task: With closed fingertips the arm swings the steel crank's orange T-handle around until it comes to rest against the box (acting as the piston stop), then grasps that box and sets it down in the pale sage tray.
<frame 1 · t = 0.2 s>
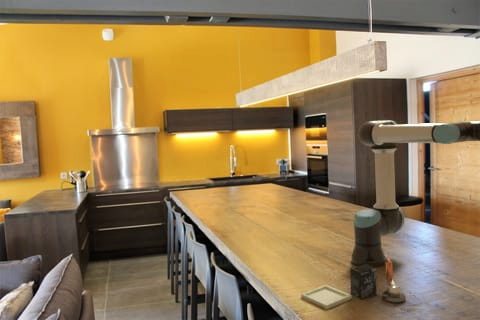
box: (363, 295, 150), on the table
crank: (391, 277, 150), point 6 cm above the table, hinge at 0.0°
tray: (326, 298, 149), on the table
crank base: (393, 298, 146), on the table
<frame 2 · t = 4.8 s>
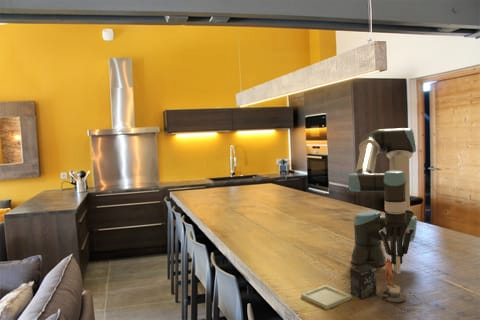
hand: (397, 272, 154), 6 cm above the table, fingers closed
crank: (391, 277, 150), point 6 cm above the table, hinge at 0.3°, touching gripper
everything else where it was.
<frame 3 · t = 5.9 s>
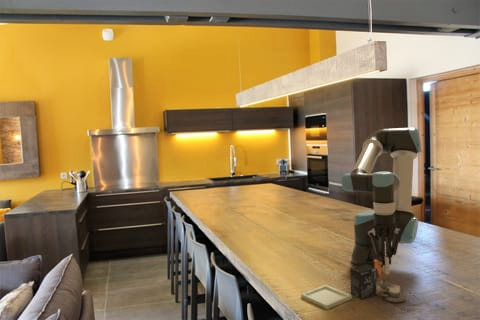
hand: (386, 272, 155), 6 cm above the table, fingers closed
crank: (385, 277, 150), point 6 cm above the table, hinge at 27.6°, touching gripper
everything else where it was.
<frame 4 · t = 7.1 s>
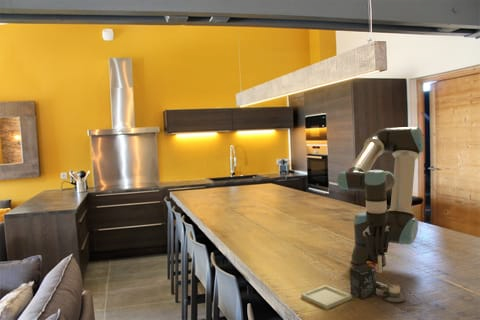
hand: (378, 271, 154), 7 cm above the table, fingers closed
box: (363, 295, 150), on the table, touching crank
crank: (382, 278, 149), point 6 cm above the table, hinge at 47.5°, touching box
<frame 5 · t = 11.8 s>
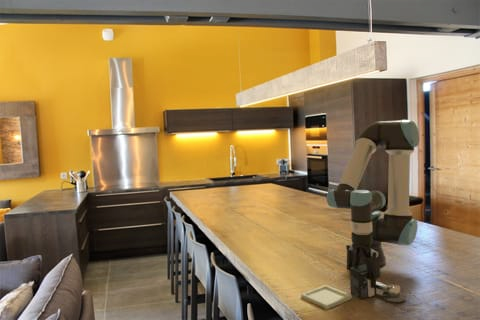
hand: (363, 292, 150), 1 cm above the table, fingers closed on box, 6 cm apart
box: (363, 295, 150), on the table, touching crank, gripper
everything else where it was.
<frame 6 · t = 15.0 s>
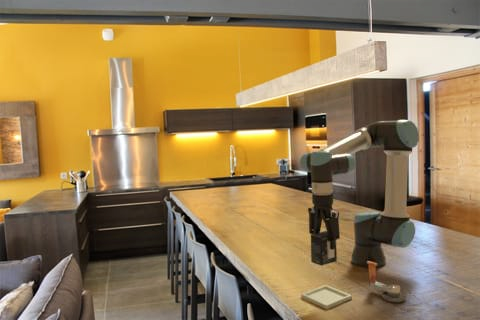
hand: (324, 255, 148), 16 cm above the table, fingers closed on box, 6 cm apart
box: (324, 262, 148), point 14 cm above the table, touching gripper
crank: (382, 278, 149), point 6 cm above the table, hinge at 46.8°
when the fingers open (3 cm above the table, at t = 17.6 s): box stays where it is, resting on tray.
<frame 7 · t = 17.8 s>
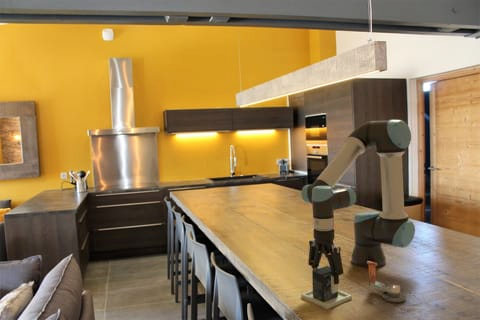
hand: (325, 288, 149), 4 cm above the table, fingers open, 8 cm apart
box: (325, 297, 149), resting on tray
everything else where it was.
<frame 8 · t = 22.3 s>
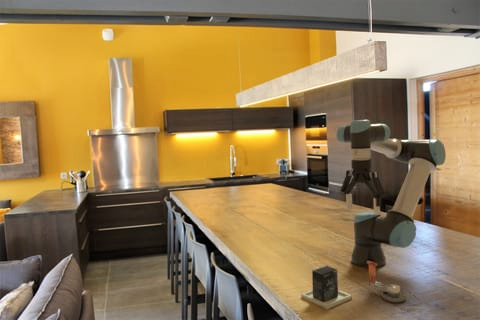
hand: (362, 212, 161), 29 cm above the table, fingers open, 13 cm apart
nothing on the table moved.
at the end: box inside the target area on the tray (0.4 cm from its centre), point 0.3 cm above the tray's base; box tilted 0°; crank at +47° (first picture: +0°) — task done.
